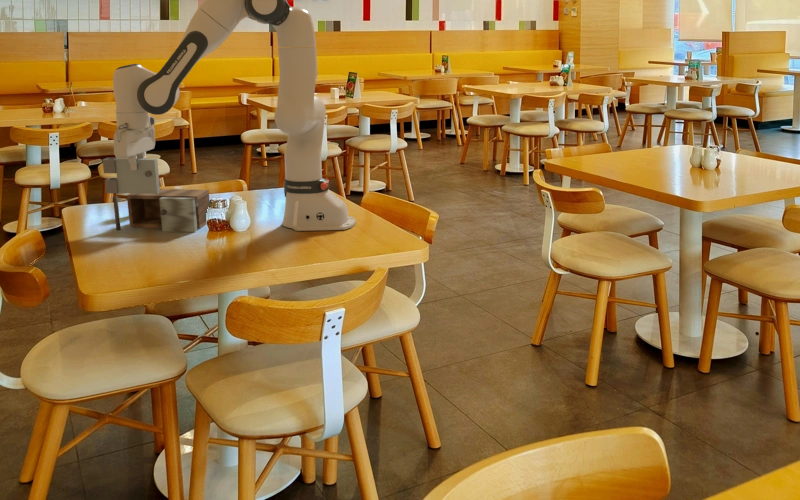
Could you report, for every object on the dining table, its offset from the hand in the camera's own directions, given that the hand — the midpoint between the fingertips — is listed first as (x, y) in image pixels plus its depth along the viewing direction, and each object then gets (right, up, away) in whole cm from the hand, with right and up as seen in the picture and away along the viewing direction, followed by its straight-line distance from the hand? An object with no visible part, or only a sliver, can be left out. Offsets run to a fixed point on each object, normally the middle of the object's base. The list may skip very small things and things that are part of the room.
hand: (137, 169), depth 230 cm
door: (-2, -7, +2) cm, 7 cm away
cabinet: (+5, -16, +10) cm, 20 cm away
